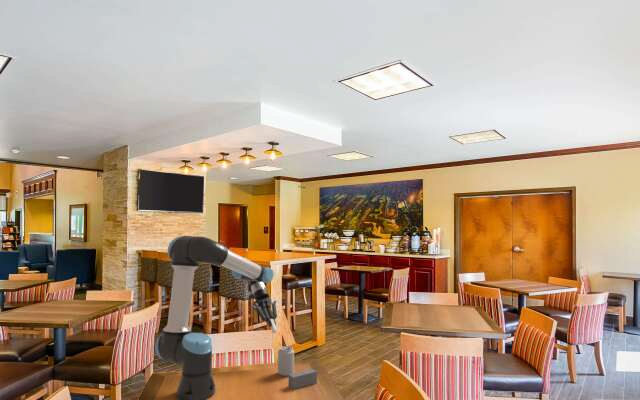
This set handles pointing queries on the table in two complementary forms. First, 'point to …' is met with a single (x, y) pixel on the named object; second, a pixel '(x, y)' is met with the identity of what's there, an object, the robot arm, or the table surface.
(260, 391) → the table surface
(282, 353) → the can
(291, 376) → the block
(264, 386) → the table surface
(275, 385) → the table surface
